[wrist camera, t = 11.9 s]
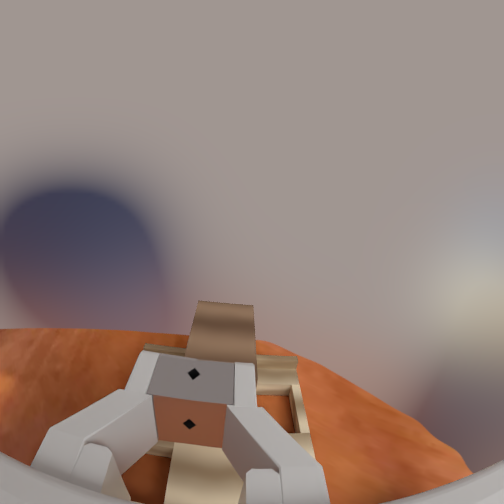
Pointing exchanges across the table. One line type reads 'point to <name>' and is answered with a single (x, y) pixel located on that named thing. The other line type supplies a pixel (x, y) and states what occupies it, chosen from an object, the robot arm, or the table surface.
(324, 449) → the table surface
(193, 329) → the block
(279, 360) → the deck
